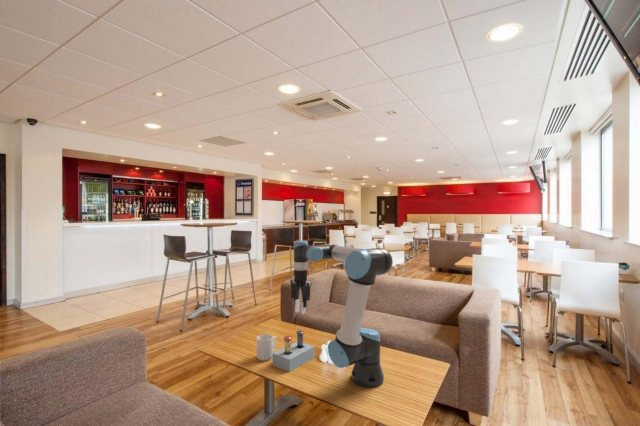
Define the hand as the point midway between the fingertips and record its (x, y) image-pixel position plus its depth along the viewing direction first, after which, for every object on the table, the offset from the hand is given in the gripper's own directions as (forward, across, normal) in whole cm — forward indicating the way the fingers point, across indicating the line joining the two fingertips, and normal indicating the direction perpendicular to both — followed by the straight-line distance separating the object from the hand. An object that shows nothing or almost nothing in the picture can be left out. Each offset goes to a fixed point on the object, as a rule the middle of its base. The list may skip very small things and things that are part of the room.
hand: (300, 312), depth 173 cm
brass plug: (+20, 0, +10) cm, 22 cm away
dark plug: (+20, 0, 0) cm, 20 cm away
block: (+25, 0, +5) cm, 25 cm away
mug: (+25, +15, +10) cm, 31 cm away
